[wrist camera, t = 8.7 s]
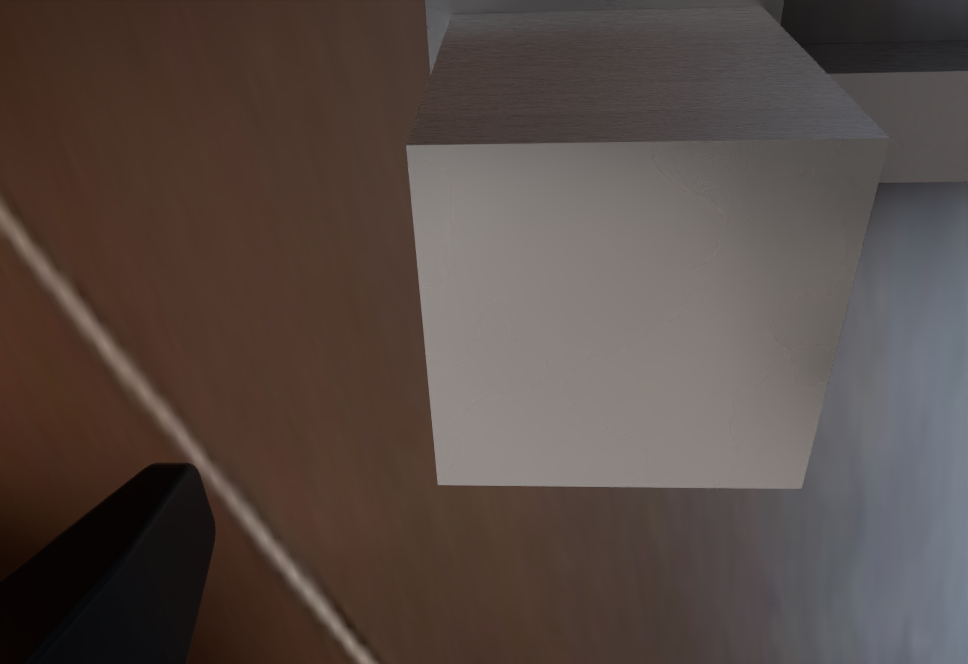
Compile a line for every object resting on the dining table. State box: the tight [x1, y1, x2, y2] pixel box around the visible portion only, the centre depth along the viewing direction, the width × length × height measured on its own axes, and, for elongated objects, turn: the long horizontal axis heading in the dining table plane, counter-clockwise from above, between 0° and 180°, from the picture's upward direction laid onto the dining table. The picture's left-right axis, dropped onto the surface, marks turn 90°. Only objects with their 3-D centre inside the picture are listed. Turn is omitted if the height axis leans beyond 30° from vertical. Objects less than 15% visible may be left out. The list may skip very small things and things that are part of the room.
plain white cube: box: [406, 6, 890, 489], centre depth 13 cm, size 5×5×6 cm
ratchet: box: [425, 0, 968, 183], centre depth 15 cm, size 18×6×6 cm, turn 92°
